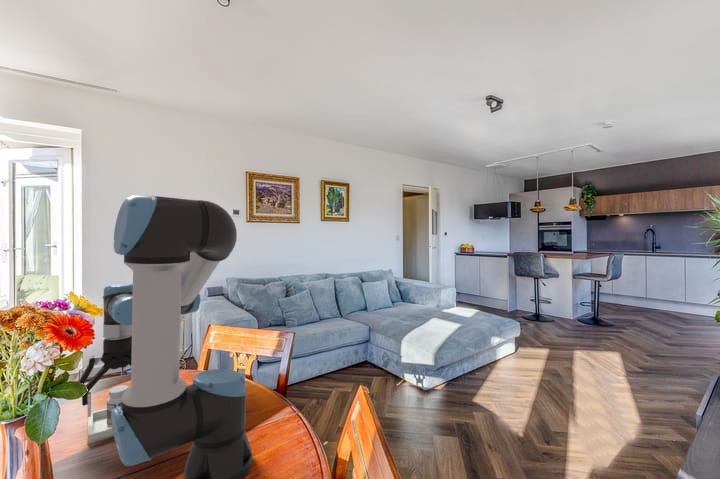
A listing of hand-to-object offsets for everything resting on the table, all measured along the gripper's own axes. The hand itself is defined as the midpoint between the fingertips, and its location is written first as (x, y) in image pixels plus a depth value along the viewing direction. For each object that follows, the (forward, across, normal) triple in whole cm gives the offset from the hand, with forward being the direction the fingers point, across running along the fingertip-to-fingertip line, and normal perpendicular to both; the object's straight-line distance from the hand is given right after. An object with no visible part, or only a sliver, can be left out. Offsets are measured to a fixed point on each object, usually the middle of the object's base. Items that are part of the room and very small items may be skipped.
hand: (119, 407), depth 96 cm
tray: (+5, 0, 0) cm, 5 cm away
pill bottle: (+4, 0, 0) cm, 5 cm away
